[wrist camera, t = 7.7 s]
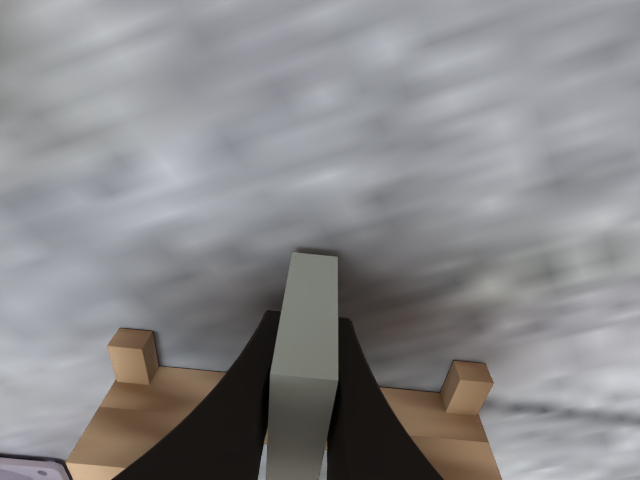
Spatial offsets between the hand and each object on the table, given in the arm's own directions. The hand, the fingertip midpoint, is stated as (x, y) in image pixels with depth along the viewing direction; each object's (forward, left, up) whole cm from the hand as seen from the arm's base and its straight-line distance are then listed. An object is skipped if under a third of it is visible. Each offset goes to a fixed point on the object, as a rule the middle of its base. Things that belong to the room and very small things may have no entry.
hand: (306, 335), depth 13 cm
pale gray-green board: (0, -6, -2) cm, 6 cm away
